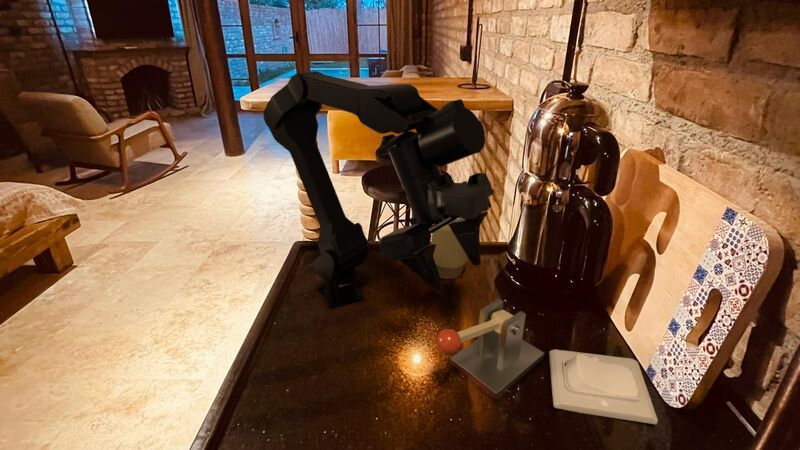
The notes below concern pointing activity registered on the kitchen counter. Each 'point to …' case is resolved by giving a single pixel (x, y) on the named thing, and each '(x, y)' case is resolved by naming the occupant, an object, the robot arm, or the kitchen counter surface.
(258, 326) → the kitchen counter surface
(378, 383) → the kitchen counter surface
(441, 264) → the squeeze bottle
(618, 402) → the light switch
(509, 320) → the bracket
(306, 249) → the kitchen counter surface
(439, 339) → the lever
